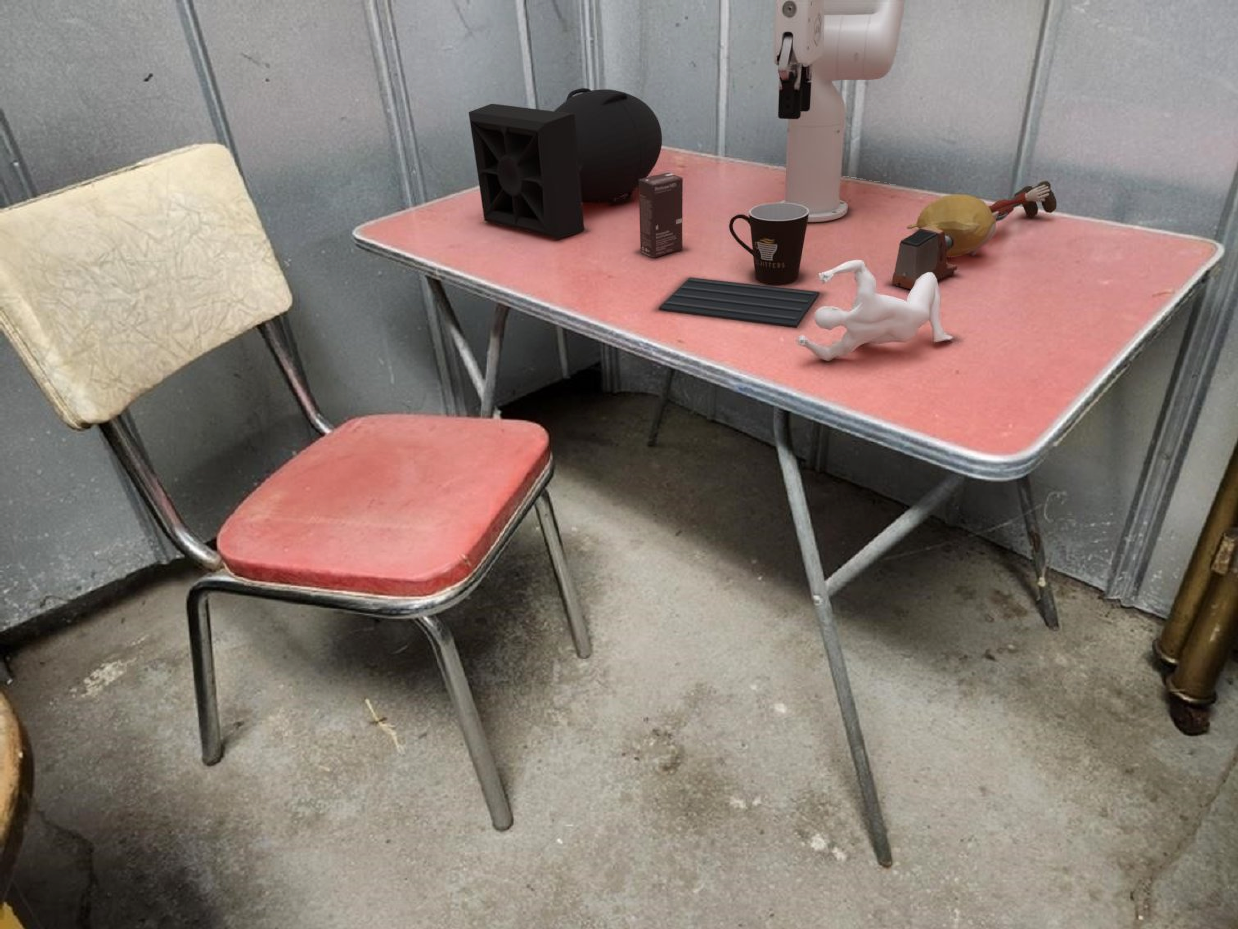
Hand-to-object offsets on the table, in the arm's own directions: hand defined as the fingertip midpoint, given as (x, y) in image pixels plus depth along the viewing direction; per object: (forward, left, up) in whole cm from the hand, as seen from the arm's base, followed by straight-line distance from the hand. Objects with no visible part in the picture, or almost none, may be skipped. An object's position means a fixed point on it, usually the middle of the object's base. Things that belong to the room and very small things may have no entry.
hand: (794, 113), depth 128 cm
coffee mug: (+10, 0, -22) cm, 24 cm away
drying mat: (+21, -1, -21) cm, 30 cm away
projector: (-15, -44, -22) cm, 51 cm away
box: (+5, -20, -22) cm, 30 cm away
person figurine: (+31, +20, -22) cm, 43 cm away
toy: (-14, +28, -22) cm, 38 cm away
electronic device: (+6, +22, -22) cm, 31 cm away
